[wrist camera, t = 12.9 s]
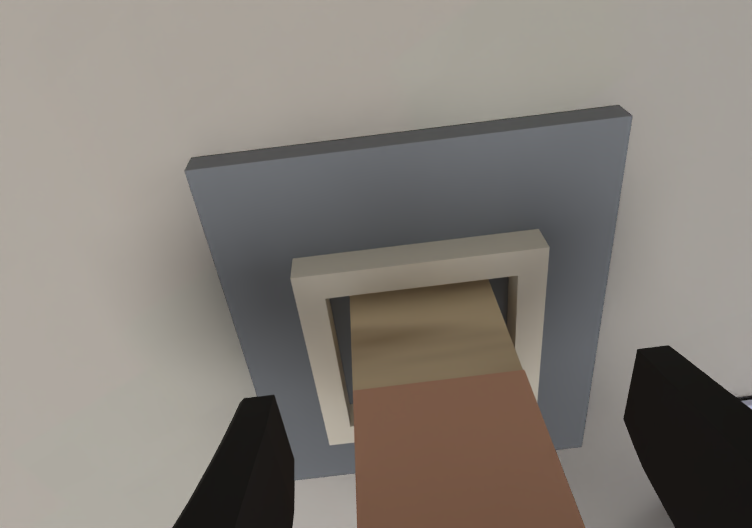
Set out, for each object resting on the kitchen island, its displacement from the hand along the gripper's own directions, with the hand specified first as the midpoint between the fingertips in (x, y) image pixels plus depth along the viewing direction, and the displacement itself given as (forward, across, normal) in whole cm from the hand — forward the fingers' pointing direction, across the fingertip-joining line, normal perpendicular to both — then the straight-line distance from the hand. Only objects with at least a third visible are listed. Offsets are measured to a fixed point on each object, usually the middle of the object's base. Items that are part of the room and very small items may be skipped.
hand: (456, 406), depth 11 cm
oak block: (+9, 0, +6) cm, 11 cm away
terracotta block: (+4, 0, +6) cm, 7 cm away
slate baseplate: (+10, 0, +6) cm, 11 cm away
